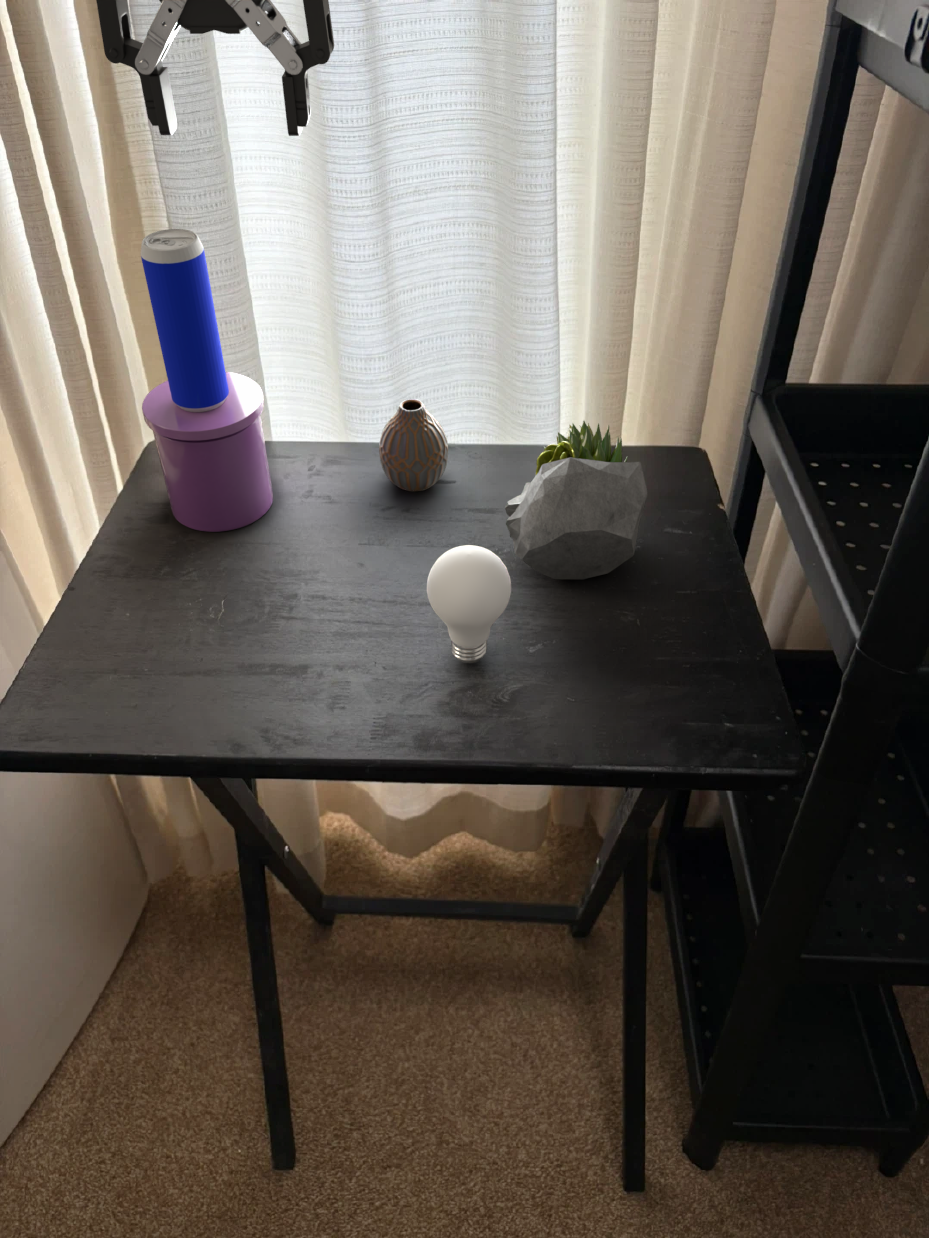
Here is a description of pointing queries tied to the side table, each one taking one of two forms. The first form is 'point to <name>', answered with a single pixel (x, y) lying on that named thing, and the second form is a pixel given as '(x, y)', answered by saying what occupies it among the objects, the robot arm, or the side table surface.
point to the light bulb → (468, 597)
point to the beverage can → (185, 318)
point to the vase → (413, 447)
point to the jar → (213, 457)
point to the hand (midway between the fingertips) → (232, 132)
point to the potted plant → (578, 507)
